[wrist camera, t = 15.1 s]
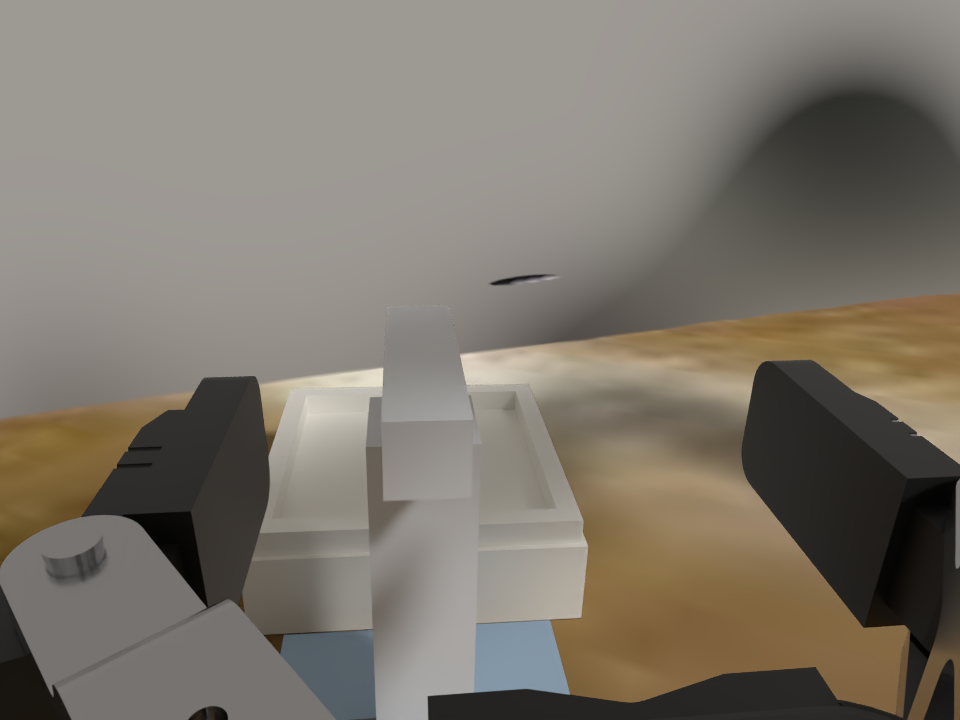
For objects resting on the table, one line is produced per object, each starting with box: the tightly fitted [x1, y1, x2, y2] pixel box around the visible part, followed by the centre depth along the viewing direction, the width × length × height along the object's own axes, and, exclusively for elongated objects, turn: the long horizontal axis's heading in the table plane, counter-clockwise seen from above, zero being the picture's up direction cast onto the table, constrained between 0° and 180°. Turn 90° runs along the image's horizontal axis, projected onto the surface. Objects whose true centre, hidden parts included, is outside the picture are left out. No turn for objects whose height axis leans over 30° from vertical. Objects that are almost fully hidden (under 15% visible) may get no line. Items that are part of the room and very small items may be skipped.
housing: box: [242, 384, 588, 635], centre depth 38 cm, size 15×15×5 cm
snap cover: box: [280, 306, 570, 720], centre depth 22 cm, size 11×11×16 cm
